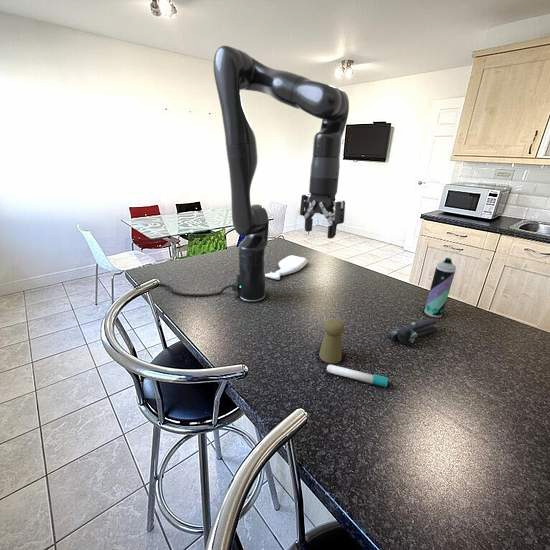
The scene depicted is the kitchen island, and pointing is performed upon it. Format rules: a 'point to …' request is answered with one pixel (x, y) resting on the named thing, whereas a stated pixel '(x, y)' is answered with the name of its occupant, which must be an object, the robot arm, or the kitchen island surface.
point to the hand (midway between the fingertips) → (319, 234)
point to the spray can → (440, 288)
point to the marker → (358, 375)
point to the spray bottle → (288, 266)
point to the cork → (332, 341)
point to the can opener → (412, 331)
